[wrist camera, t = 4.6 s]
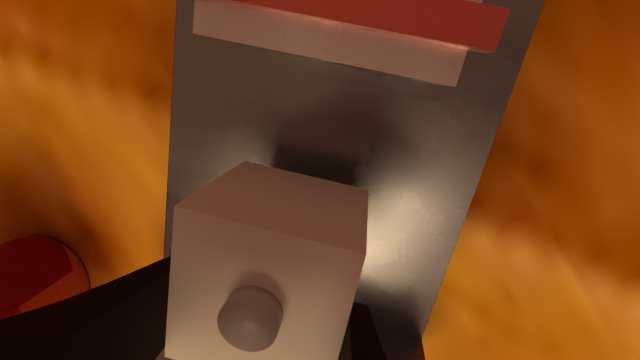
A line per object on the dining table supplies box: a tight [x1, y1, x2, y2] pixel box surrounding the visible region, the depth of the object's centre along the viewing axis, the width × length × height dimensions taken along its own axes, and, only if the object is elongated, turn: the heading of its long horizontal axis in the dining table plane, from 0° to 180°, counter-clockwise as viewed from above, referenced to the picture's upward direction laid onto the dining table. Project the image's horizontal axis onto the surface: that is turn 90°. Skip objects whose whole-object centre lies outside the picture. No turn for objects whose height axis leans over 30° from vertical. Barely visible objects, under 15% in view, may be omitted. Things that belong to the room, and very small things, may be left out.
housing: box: [164, 161, 369, 360], centre depth 11 cm, size 5×5×6 cm
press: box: [155, 0, 545, 360], centre depth 13 cm, size 14×18×6 cm
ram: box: [193, 0, 510, 87], centre depth 11 cm, size 9×3×5 cm, turn 80°
